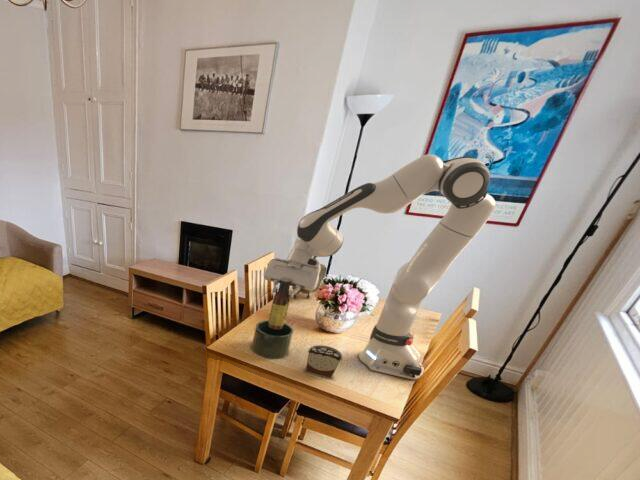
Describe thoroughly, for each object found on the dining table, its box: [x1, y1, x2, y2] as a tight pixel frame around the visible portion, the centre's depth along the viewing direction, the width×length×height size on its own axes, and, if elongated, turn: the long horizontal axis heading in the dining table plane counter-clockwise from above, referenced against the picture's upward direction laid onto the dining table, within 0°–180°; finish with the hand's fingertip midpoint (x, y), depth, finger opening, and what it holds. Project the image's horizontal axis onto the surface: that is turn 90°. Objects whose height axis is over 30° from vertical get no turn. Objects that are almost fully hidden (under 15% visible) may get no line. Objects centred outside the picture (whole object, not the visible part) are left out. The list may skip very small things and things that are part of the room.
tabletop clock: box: [291, 256, 327, 299], centre depth 204 cm, size 14×9×25 cm, turn 126°
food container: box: [304, 344, 343, 380], centre depth 150 cm, size 12×6×10 cm, turn 59°
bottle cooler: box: [251, 319, 294, 359], centre depth 164 cm, size 15×15×10 cm
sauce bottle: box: [268, 278, 291, 330], centre depth 155 cm, size 7×6×20 cm
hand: (282, 294), depth 152 cm, fingers closed on sauce bottle, 5 cm apart
